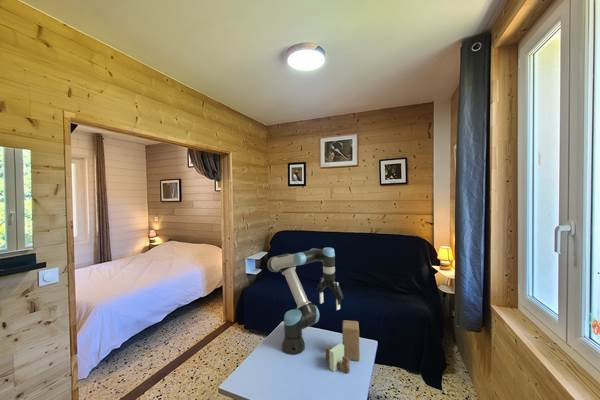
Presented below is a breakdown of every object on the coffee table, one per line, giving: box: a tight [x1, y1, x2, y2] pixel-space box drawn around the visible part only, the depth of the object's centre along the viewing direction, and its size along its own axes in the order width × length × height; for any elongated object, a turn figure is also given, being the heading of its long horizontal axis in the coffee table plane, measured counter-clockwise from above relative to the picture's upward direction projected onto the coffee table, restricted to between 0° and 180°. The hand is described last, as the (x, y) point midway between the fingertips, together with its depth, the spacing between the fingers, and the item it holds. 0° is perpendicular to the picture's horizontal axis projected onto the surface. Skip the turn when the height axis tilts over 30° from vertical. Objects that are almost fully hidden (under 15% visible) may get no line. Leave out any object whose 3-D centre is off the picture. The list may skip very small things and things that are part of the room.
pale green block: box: [329, 343, 344, 372], centre depth 145 cm, size 10×3×11 cm, turn 133°
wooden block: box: [342, 319, 361, 362], centre depth 155 cm, size 10×10×20 cm
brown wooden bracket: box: [325, 346, 351, 375], centre depth 146 cm, size 16×2×8 cm, turn 43°
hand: (329, 306), depth 157 cm, fingers open, 13 cm apart
